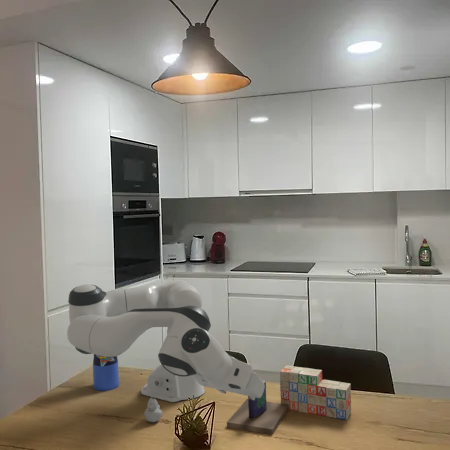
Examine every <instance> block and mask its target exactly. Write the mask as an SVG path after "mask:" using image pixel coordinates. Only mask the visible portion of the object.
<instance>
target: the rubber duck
mask: <svg viewBox="0 0 450 450" xmlns="http://www.w3.org/2000/svg"><path fill="white" fill-rule="evenodd" d="M146 405H147V408H146V409H145V410H144V413H143V414H144V415H143V416H144V418H145V421H146V422H148V423H156V422H159V420H160V419H161V418H162V417H163V410H162V409H161V405H160V404H159V402H158V401H157V398H154V397H150V398H149V400H148V401H147V404H146Z"/></svg>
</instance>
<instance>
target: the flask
mask: <svg viewBox="0 0 450 450" xmlns="http://www.w3.org/2000/svg"><path fill="white" fill-rule="evenodd" d="M261 380H262V382H263V383H264V385H265V388H264V392H263V395H262V397H261V398H256V397H255V400H251V399H249V398H248V397H247V399H248V407H249V418H250V419H255V418H257V417H259V416H261V415H262V414H263V413H264V412H265V411H266V409H267V406H266V402H267V382H266V380H264V379H261Z"/></svg>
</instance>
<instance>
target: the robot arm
mask: <svg viewBox="0 0 450 450" xmlns="http://www.w3.org/2000/svg"><path fill="white" fill-rule="evenodd" d="M67 302H68V304H69V305H68V306H69V307H68V312H69V313H68V314H69V315H68V316H69V325H68V327H67V331H66V332H67V333H66V334H67V335H66V336H67V340H68V342H69V343H70V344H71V345H72V346H73V347H74V348H75V350H76V351H77V352H79V353H80V354H84V355H91V354H92V355H94V354H96V355H100V356H105V357H115V356H117V357H118V356H120V355H122V354H124V353H125V352H126V351H128V350H129V349H130V348H131V346H133V344H134V343H135V342H136V341H137V340H138V339H139V337H141V335H143V334H144V333H146V331H148V330H150V329H152V328H166V329H167V330H166V337H165V338H164V341H163V343H162V345H161V347H160V349H159V351H158V354H157V355H158V360H159V362H160V364H159V365H158V366H157V367H155V369H153V370H152V371H151V372H150V373H149V375H148V377H147V383H146V384H144V386H143V387H142V388H141V390H140V394H141V395H144V396H147V397H150V398H151V397H152V398H153V399H154V398H155V399H159V400H162V401H165V402H169V403H170V402H171V403H175V402H179V401H185V400H191V399H196V398H198V397H201V396H202V395H204V393H205V392H206V391H205V389H206V388H210V389H214V390H217V391H218V392H219V393H220V394H223V395H224V394H225V395H226V393H227V392H228V393H232V394H233V393H234V394H238V395H242V396H247V399H248V398H249V399H251V400H255V397H256V398H261V397H262V395H263V392H264V388H265V385H264V383H263V382H262V380H263V379H261V378H260V376H259V375H258V374H257V373H256V372H255V371H253V366H252V365H251V364H250V363H248V362H247V363H246V362H244V361H241V360H239V359H237V358H235V357H233V356H232V355H230V354H228V353H227V352H226V351H225V349H224V347H223V346H222V344H221V343H220V341H218V340H217V339H216V337H214V335H213V334H211V332H209V330H210V329H211V326H212V325H211V321H210V318H209V315H208V314H207V312H206V311H205V310H204V309H203V308H202V305H203V300H202V295H201V293H200V292H199V290H198V289H197V288H196V286H195V287H194V286H193V285H192V284H190V283H189V281H186V280H183V279H173V280H168V281H164V282H158V283H154V284H151V285H144V286H135V287H127V288H120V289H115V290H111V291H104V290H103V289H102V288H100V287H99V286H97V285H95V284H82V285H78V286H75V287H74V288H72V289H71V290H70V291H69V294H68V300H67ZM193 395H194V398H193ZM188 397H189V398H190V399H188Z"/></svg>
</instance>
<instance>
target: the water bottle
mask: <svg viewBox="0 0 450 450" xmlns="http://www.w3.org/2000/svg"><path fill="white" fill-rule="evenodd" d="M119 373H120V372H119V359H118V356H115V357H105V356H100V355H96V354H93V361H92V379H93V389H94V390H95V391H99V392H106V391H107V392H108V391H113V390H115V389H117V388H118V387H119V386H120V381H119V380H120V377H119Z"/></svg>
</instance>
